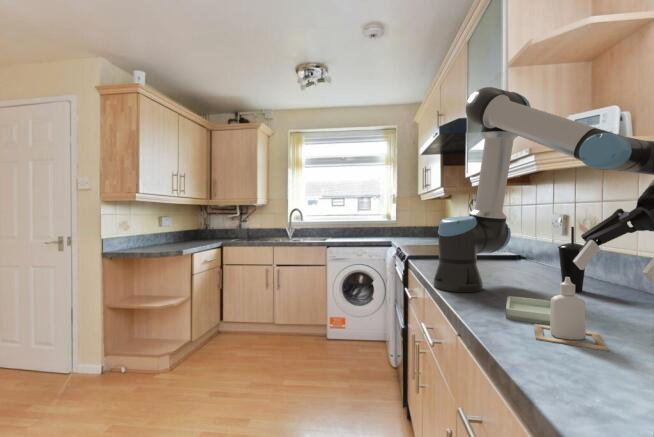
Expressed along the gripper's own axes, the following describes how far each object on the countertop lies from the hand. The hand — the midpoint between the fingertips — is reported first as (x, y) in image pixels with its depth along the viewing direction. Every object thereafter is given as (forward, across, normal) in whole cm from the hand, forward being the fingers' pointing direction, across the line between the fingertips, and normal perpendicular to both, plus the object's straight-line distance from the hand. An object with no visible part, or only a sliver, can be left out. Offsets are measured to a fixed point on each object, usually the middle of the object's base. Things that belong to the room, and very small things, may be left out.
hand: (609, 271), depth 64 cm
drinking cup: (-9, +32, -28) cm, 43 cm away
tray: (+13, +15, -6) cm, 20 cm away
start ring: (+15, +1, -3) cm, 16 cm away
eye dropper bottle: (+16, +1, -3) cm, 16 cm away
